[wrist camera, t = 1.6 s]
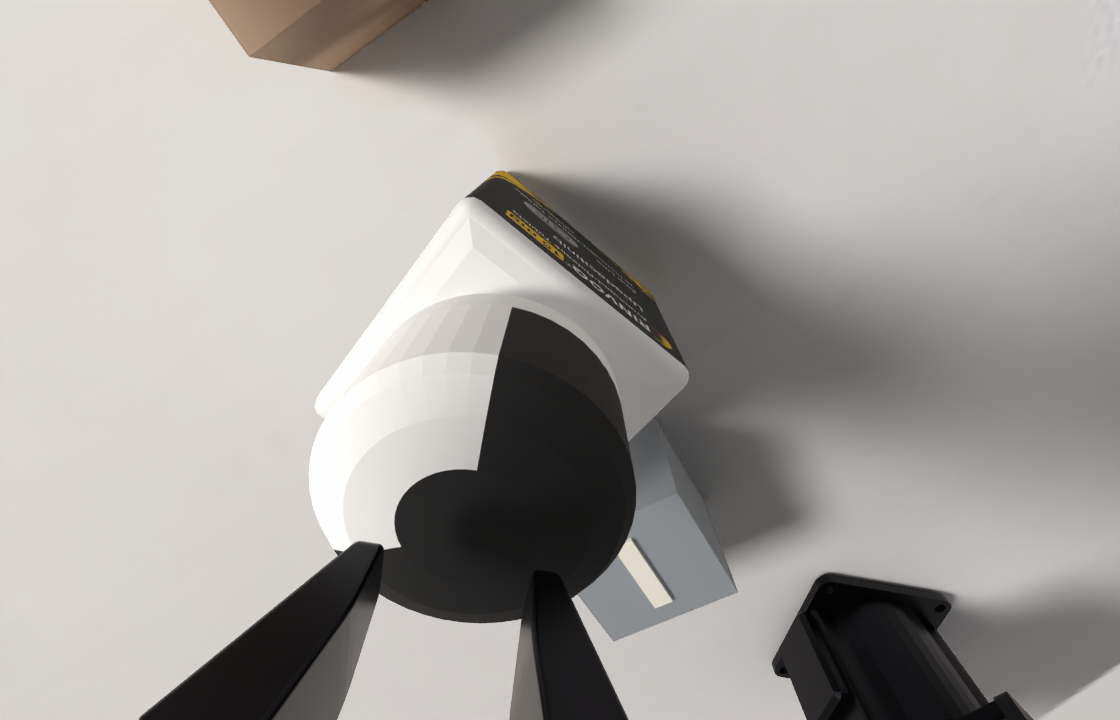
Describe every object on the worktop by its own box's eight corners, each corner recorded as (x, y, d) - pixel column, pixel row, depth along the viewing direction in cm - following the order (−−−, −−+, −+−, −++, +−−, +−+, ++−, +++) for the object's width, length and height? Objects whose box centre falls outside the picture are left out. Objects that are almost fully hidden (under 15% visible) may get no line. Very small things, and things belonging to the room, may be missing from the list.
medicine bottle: (655, 295, 20) (762, 508, 9) (535, 424, 23) (506, 718, 12) (500, 164, 18) (405, 236, 7) (386, 319, 21) (185, 549, 10)
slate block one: (654, 415, 22) (678, 495, 18) (704, 501, 24) (738, 595, 19) (548, 467, 23) (544, 555, 19) (604, 545, 25) (613, 644, 20)
